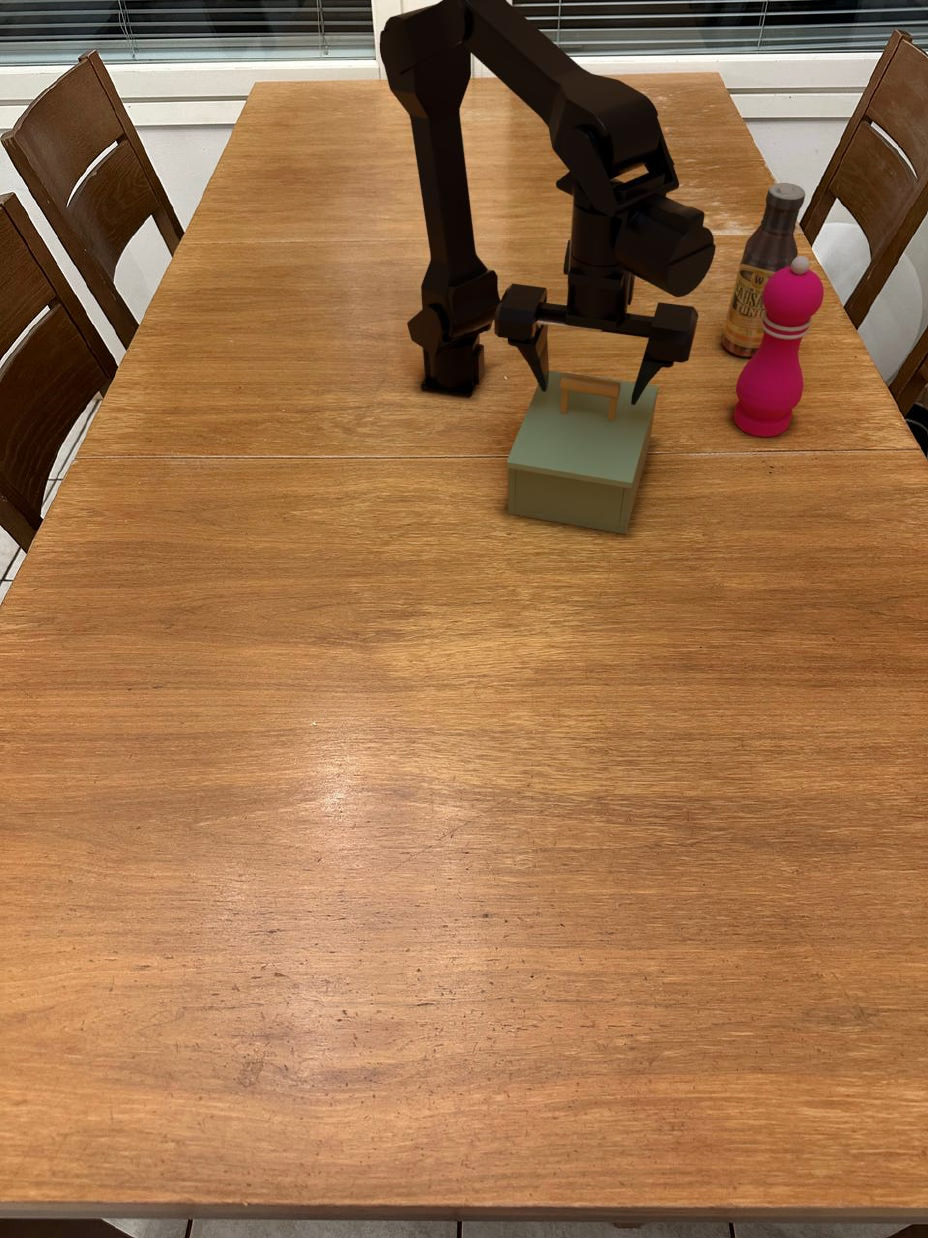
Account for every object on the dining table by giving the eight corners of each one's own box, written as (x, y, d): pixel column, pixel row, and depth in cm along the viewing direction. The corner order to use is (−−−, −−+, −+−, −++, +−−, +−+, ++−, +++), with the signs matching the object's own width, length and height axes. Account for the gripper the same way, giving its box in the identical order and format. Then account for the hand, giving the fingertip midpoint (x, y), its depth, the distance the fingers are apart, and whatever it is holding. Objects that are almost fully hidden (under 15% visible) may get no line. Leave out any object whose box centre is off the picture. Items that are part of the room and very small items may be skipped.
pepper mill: (794, 443, 106) (842, 277, 91) (728, 436, 108) (765, 272, 93) (792, 405, 111) (838, 241, 96) (729, 399, 112) (765, 236, 97)
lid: (631, 489, 92) (637, 446, 88) (506, 467, 94) (506, 425, 90) (657, 392, 102) (663, 349, 98) (543, 375, 105) (545, 333, 101)
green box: (625, 534, 97) (632, 484, 92) (507, 513, 100) (508, 463, 95) (650, 442, 107) (657, 392, 102) (541, 425, 110) (543, 375, 105)
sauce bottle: (713, 352, 119) (745, 195, 104) (729, 328, 122) (761, 172, 107) (765, 366, 116) (804, 206, 102) (779, 340, 120) (819, 183, 105)
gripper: (717, 220, 88) (691, 364, 100) (522, 199, 92) (519, 340, 104) (702, 280, 81) (676, 428, 93) (492, 255, 85) (493, 399, 97)
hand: (588, 395), depth 97 cm, fingers open, 9 cm apart
